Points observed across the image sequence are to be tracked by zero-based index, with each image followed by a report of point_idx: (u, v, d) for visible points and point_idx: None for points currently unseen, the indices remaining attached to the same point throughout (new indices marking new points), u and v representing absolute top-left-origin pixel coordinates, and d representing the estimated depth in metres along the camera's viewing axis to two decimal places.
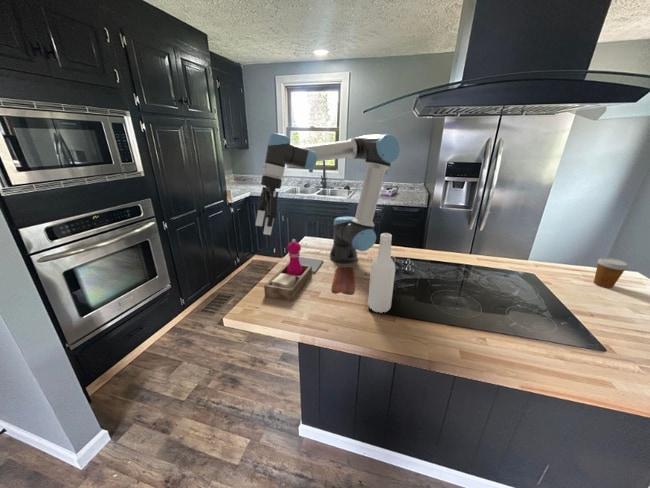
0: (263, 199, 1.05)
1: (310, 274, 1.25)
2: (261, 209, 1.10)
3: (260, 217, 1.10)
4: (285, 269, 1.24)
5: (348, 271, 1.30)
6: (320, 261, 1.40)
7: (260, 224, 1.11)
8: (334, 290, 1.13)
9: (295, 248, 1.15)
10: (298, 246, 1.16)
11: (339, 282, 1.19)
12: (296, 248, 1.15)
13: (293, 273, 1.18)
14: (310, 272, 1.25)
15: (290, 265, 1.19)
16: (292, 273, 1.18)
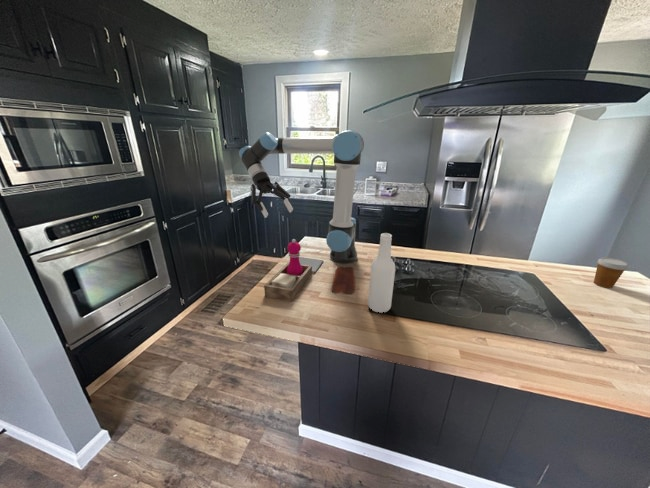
0: (273, 193, 1.24)
1: (310, 274, 1.25)
2: (285, 198, 1.25)
3: (287, 204, 1.24)
4: (285, 269, 1.24)
5: (348, 271, 1.30)
6: (320, 261, 1.40)
7: (290, 209, 1.23)
8: (334, 290, 1.13)
9: (295, 248, 1.15)
10: (298, 246, 1.16)
11: (339, 282, 1.19)
12: (296, 248, 1.15)
13: (293, 273, 1.18)
14: (310, 272, 1.25)
15: (290, 265, 1.19)
16: (292, 273, 1.18)
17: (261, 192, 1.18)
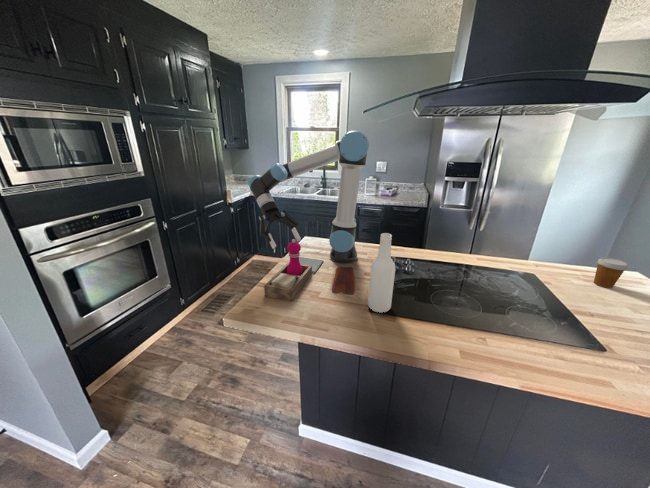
0: (281, 222, 1.25)
1: (310, 274, 1.25)
2: (293, 227, 1.26)
3: (295, 233, 1.24)
4: (285, 269, 1.24)
5: (348, 271, 1.30)
6: (320, 261, 1.40)
7: (298, 238, 1.23)
8: (334, 290, 1.13)
9: (295, 248, 1.15)
10: (298, 246, 1.16)
11: (339, 282, 1.19)
12: (296, 248, 1.15)
13: (293, 273, 1.18)
14: (310, 272, 1.25)
15: (290, 265, 1.19)
16: (292, 273, 1.18)
17: (269, 223, 1.18)
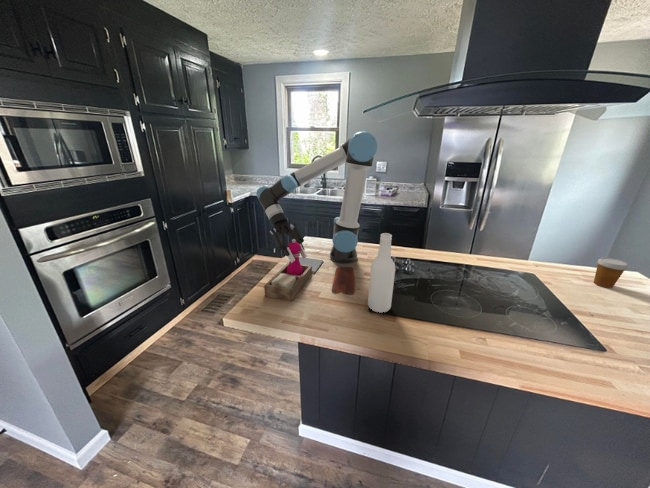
0: (288, 234, 1.22)
1: (310, 274, 1.25)
2: None
3: (300, 250, 1.20)
4: (285, 269, 1.24)
5: (348, 271, 1.30)
6: (320, 261, 1.40)
7: (304, 255, 1.18)
8: (334, 290, 1.13)
9: (295, 248, 1.15)
10: (298, 246, 1.16)
11: (339, 282, 1.19)
12: (296, 248, 1.15)
13: (293, 273, 1.18)
14: (310, 272, 1.25)
15: (290, 265, 1.19)
16: (292, 273, 1.18)
17: (283, 235, 1.17)
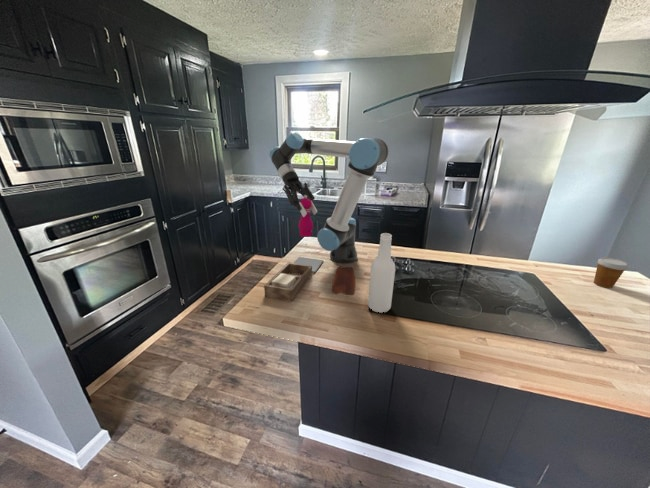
0: (300, 192, 1.29)
1: (310, 274, 1.25)
2: None
3: (311, 206, 1.27)
4: (285, 269, 1.24)
5: (348, 271, 1.30)
6: (320, 261, 1.40)
7: (315, 211, 1.26)
8: (334, 291, 1.13)
9: (307, 203, 1.23)
10: (309, 201, 1.24)
11: (339, 282, 1.19)
12: (308, 203, 1.23)
13: (305, 227, 1.26)
14: (310, 272, 1.25)
15: (302, 220, 1.27)
16: (303, 227, 1.26)
17: (295, 191, 1.25)
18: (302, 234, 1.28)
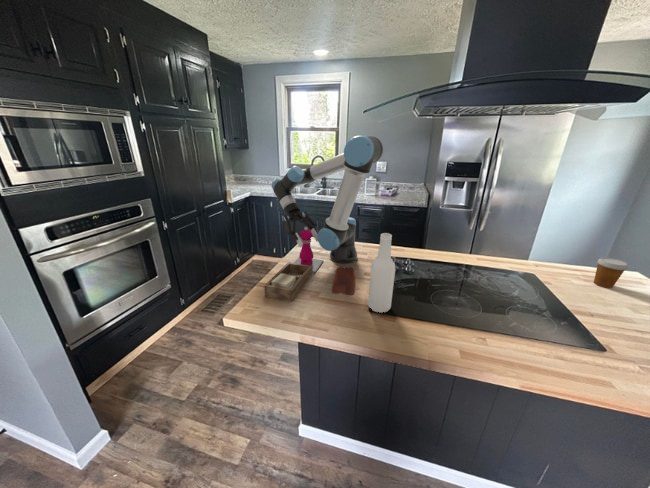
0: (301, 222, 1.35)
1: (310, 274, 1.25)
2: (312, 228, 1.36)
3: (314, 234, 1.34)
4: (285, 269, 1.24)
5: (348, 272, 1.30)
6: (320, 261, 1.40)
7: None
8: (334, 291, 1.12)
9: (307, 235, 1.28)
10: (310, 233, 1.29)
11: (340, 283, 1.19)
12: (308, 235, 1.29)
13: (305, 257, 1.32)
14: (310, 272, 1.25)
15: (302, 250, 1.32)
16: (304, 257, 1.32)
17: (294, 222, 1.30)
18: (303, 263, 1.34)
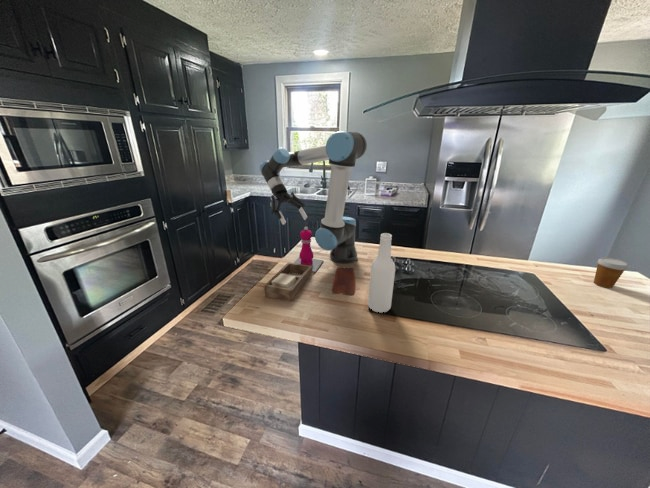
0: (289, 202, 1.40)
1: (310, 274, 1.25)
2: (300, 207, 1.41)
3: (302, 213, 1.39)
4: (285, 269, 1.24)
5: (348, 272, 1.30)
6: (320, 261, 1.40)
7: (305, 217, 1.38)
8: (335, 291, 1.12)
9: (307, 235, 1.28)
10: (310, 233, 1.29)
11: (340, 283, 1.18)
12: (308, 235, 1.29)
13: (305, 257, 1.32)
14: (310, 272, 1.25)
15: (302, 250, 1.32)
16: (304, 257, 1.32)
17: (279, 202, 1.33)
18: (303, 263, 1.34)
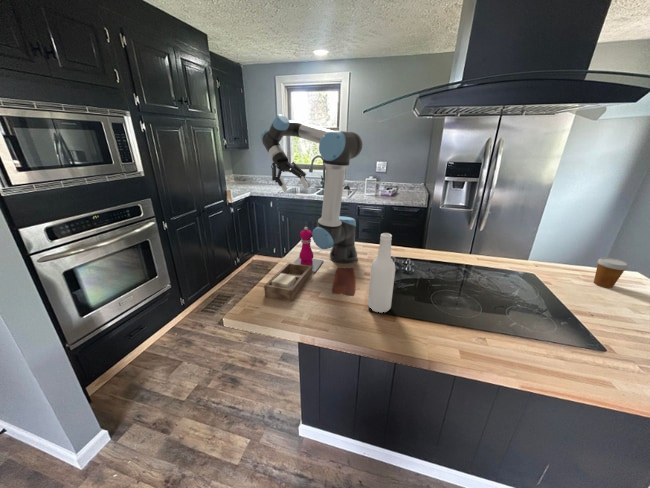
0: (290, 171, 1.39)
1: (310, 274, 1.25)
2: None
3: (303, 182, 1.39)
4: (285, 269, 1.24)
5: (348, 272, 1.29)
6: (320, 261, 1.40)
7: (306, 186, 1.38)
8: (335, 291, 1.12)
9: (307, 235, 1.28)
10: (310, 233, 1.29)
11: (340, 283, 1.18)
12: (308, 235, 1.29)
13: (305, 257, 1.32)
14: (310, 272, 1.25)
15: (302, 250, 1.32)
16: (304, 257, 1.32)
17: (280, 170, 1.33)
18: (303, 263, 1.34)
